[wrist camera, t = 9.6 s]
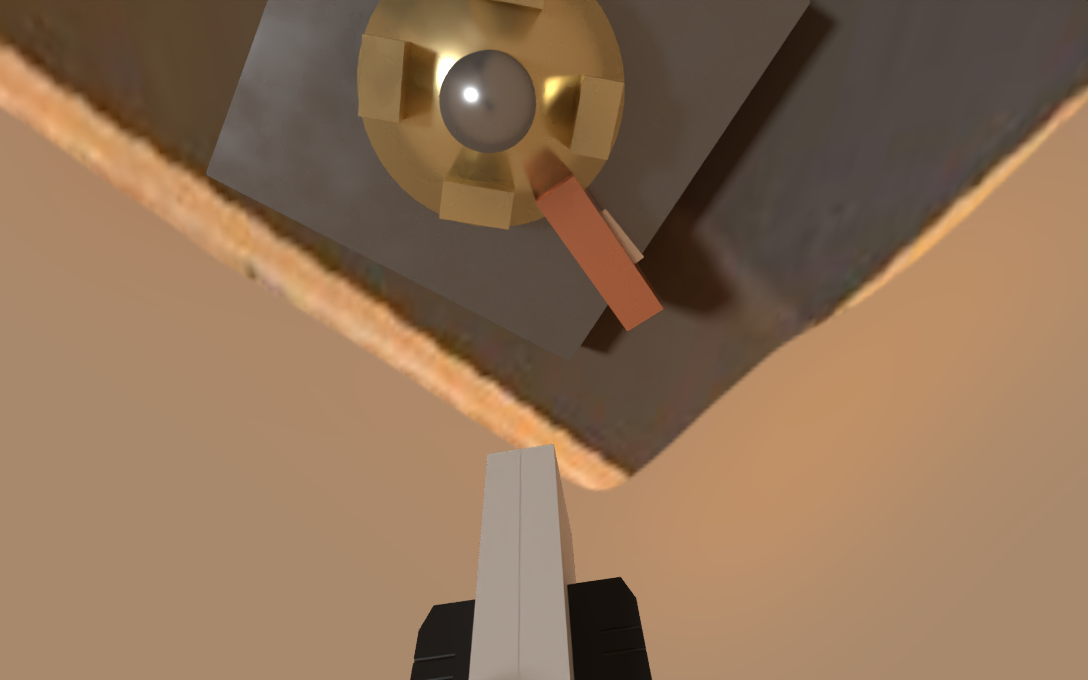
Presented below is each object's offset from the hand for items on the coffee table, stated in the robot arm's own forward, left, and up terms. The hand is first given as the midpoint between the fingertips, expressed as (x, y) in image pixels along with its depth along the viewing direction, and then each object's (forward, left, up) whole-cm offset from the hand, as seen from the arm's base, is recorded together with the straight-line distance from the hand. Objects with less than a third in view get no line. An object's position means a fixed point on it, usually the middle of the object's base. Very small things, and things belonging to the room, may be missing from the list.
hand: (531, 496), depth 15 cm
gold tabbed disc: (-2, +4, -19) cm, 19 cm away
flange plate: (-5, +6, -22) cm, 23 cm away
